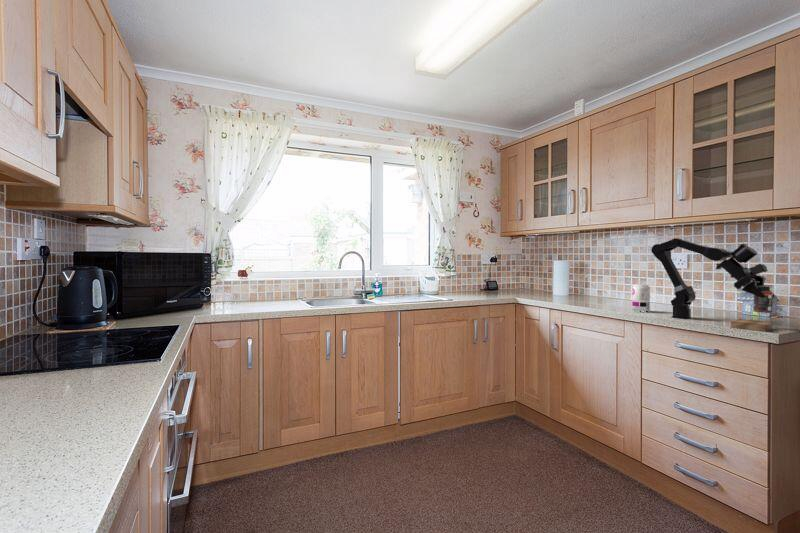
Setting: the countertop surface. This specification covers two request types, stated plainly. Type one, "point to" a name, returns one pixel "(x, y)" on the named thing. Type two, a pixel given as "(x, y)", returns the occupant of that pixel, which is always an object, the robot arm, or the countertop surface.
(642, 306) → the supplement can
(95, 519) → the countertop surface
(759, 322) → the trivet
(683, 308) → the robot arm
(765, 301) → the supplement bottle
